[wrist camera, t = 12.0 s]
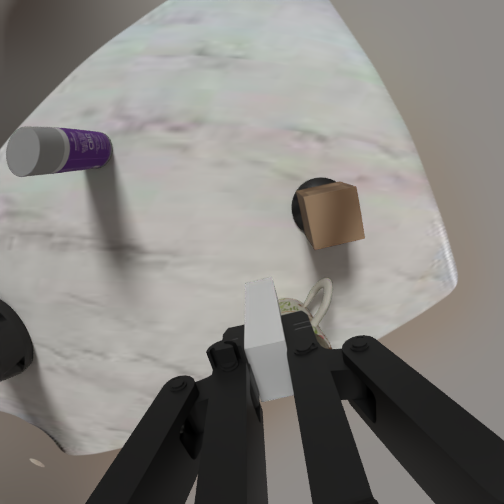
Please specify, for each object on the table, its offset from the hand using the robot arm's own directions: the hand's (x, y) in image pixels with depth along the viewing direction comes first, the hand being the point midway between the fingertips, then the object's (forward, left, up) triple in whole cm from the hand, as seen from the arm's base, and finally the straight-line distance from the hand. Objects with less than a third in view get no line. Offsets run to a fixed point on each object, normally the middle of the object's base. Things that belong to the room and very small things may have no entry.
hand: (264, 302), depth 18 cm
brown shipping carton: (+7, +1, -20) cm, 22 cm away
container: (-18, +14, -22) cm, 31 cm away
